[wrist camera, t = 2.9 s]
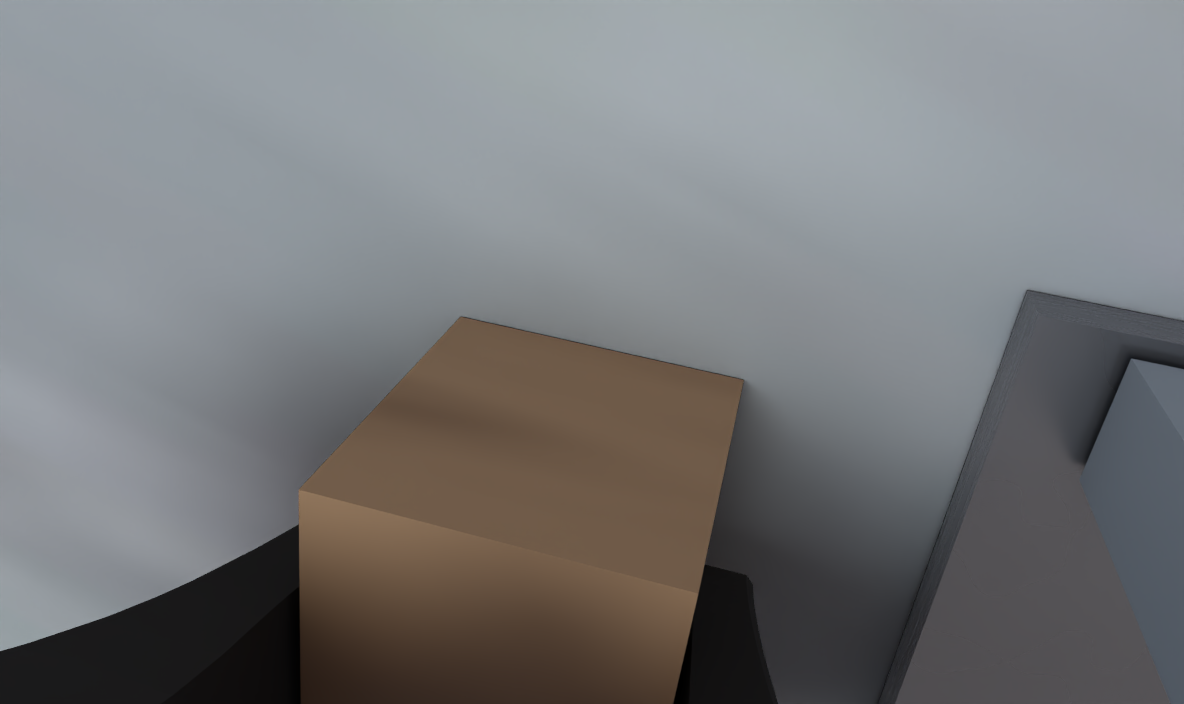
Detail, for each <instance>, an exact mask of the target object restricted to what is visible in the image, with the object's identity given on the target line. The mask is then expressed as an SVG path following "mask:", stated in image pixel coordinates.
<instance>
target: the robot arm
mask: <svg viewBox="0 0 1184 704" xmlns="http://www.w3.org/2000/svg"><path fill="white" fill-rule="evenodd" d="M0 704H301V682H300V578H299V525H297V526H295V527H293V528H292V529H290V530H288V531H286V532H285V533H283V534H281V535H279V536H278V537H276V538H274V539H272V540H270V541H269V542H267V543H265V544H263V545H262V546H260V547H258V548H256V549H254V550H252V551H250V552H248V553H246V554H244V555H242V556H240V557H238V558H237V559H235V560H233V561H231V562H229V563H227V564H225V565H223V566H221V567H219V568H217V569H215V570H213V571H211V572H209V573H207V574H205V575H203V576H201V577H199V578H197V579H195V580H193V581H191V582H189V583H187V584H184V585H182V586H180V587H178V588H176V589H173V590H171V591H169V592H167V593H164V594H162V595H160V596H157V597H155V598H153V599H150V600H148V601H145V602H143V603H140V604H138V605H135V606H133V607H130V608H128V609H126V610H123V611H121V612H118V613H115V614H113V615H110V616H108V617H105V618H102V619H99V620H96V621H93V622H90V623H87V624H84V625H81V626H78V627H75V628H72V629H69V630H66V631H63V632H61V633H58V634H55V635H52V636H49V637H46V638H43V639H40V640H37V641H34V642H31V643H27V644H24V645H21V646H17V647H14V648H10V649H7V650H3V651H0ZM673 704H778V702H777V699H776V696H775V692H774V689H773V685H772V682H771V679H770V675H769V672H768V669H767V665H766V661H765V657H764V653H763V649H762V644H761V640H760V635H759V631H758V625H757V620H756V614H755V607H754V598H753V584H752V583H751V581H750V580H749V578H748V577H747V575H743V574H739V573H735V572H731V571H728V570H724V569H720V568H716V567H712V566H708V565H704V570H703V574H702V579H701V584H700V588H699V593H698V597H697V602H696V606H695V610H694V615H693V619H692V624H691V628H690V632H689V637H688V641H687V645H686V650H685V654H684V658H683V663H682V667H681V672H680V676H679V680H678V685H677V689H676V693H675V698H674V702H673Z"/></svg>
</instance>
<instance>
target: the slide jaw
mask: <svg viewBox="0 0 1184 704" xmlns="http://www.w3.org/2000/svg"><path fill="white" fill-rule="evenodd" d="M1079 480H1080V483H1081V485H1082V488H1083V490H1084V493H1085V495H1086V497H1087V500H1088V502H1089V505H1090V507H1091V510H1092V512H1093V515H1094V517H1095V519H1096V522H1097V524H1098V527H1099V529H1100V532H1101V534H1102V537H1103V539H1104V541H1105V544H1106V546H1107V549H1108V551H1109V554H1110V556H1111V559H1112V561H1113V563H1114V566H1115V568H1116V571H1117V573H1118V576H1119V578H1120V581H1121V583H1122V585H1123V588H1124V590H1125V593H1126V595H1127V598H1128V600H1129V603H1130V605H1131V607H1132V610H1133V612H1134V615H1135V617H1136V620H1137V622H1138V625H1139V627H1140V630H1141V632H1142V634H1143V637H1144V639H1145V642H1146V644H1147V647H1148V649H1149V652H1150V654H1151V656H1152V659H1153V661H1154V664H1155V666H1156V669H1157V671H1158V674H1159V676H1160V678H1161V681H1162V683H1163V686H1164V688H1165V691H1166V693H1167V696H1168V698H1169V700H1170V703H1171V704H1184V369H1180V368H1175V367H1170V366H1165V365H1160V364H1156V363H1151V362H1146V361H1141V360H1136V359H1131V360H1130V363H1129V365H1128V367H1127V370H1126V372H1125V374H1124V377H1123V379H1122V381H1121V384H1120V386H1119V388H1118V391H1117V393H1116V395H1115V398H1114V400H1113V402H1112V405H1111V407H1110V409H1109V412H1108V414H1107V416H1106V419H1105V421H1104V423H1103V426H1102V428H1101V430H1100V433H1099V435H1098V437H1097V440H1096V442H1095V444H1094V447H1093V449H1092V451H1091V454H1090V456H1089V458H1088V461H1087V463H1086V465H1085V468H1084V470H1083V472H1082V475H1081V477H1080V479H1079Z"/></svg>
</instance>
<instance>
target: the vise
mask: <svg viewBox="0 0 1184 704" xmlns="http://www.w3.org/2000/svg"><path fill="white" fill-rule="evenodd" d="M1131 359H1136V360H1141V361H1146V362H1151V363H1156V364H1160V365H1165V366H1170V367H1175V368H1180V369H1184V322H1183V321H1178V320H1173V319H1168V318H1163V317H1158V316H1153V315H1148V314H1143V313H1138V312H1133V311H1128V310H1123V309H1118V308H1113V307H1108V306H1103V305H1098V304H1093V303H1088V302H1083V301H1078V300H1073V299H1068V298H1063V297H1058V296H1053V295H1048V294H1043V293H1038V292H1033V291H1028V290H1027V292H1026V295H1025V298H1024V301H1023V303H1022V306H1021V309H1020V312H1019V314H1018V317H1017V320H1016V323H1015V325H1014V328H1013V331H1012V334H1011V337H1010V339H1009V342H1008V345H1007V348H1006V350H1005V353H1004V356H1003V359H1002V362H1001V364H1000V367H999V370H998V373H997V375H996V378H995V381H994V384H993V386H992V389H991V392H990V395H989V398H988V400H987V403H986V406H985V409H984V411H983V414H982V417H981V420H980V422H979V425H978V428H977V431H976V434H975V436H974V439H973V442H972V445H971V447H970V450H969V453H968V456H967V459H966V461H965V464H964V467H963V470H962V472H961V475H960V478H959V481H958V483H957V486H956V489H955V492H954V495H953V497H952V500H951V503H950V506H949V508H948V511H947V514H946V517H945V519H944V522H943V525H942V528H941V531H940V533H939V536H938V539H937V542H936V544H935V547H934V550H933V553H932V555H931V558H930V561H929V564H928V567H927V569H926V572H925V575H924V578H923V580H922V583H921V586H920V589H919V592H918V594H917V597H916V600H915V603H914V605H913V608H912V611H911V614H910V616H909V619H908V622H907V625H906V628H905V630H904V633H903V636H902V639H901V641H900V644H899V647H898V650H897V652H896V655H895V658H894V661H893V664H892V666H891V669H890V672H889V675H888V677H887V680H886V683H885V686H884V689H883V691H882V694H881V697H880V700H879V702H878V704H1171V703H1170V700H1169V698H1168V696H1167V693H1166V691H1165V688H1164V686H1163V683H1162V681H1161V678H1160V676H1159V674H1158V671H1157V669H1156V666H1155V664H1154V661H1153V659H1152V656H1151V654H1150V652H1149V649H1148V647H1147V644H1146V642H1145V639H1144V637H1143V634H1142V632H1141V630H1140V627H1139V625H1138V622H1137V620H1136V617H1135V615H1134V612H1133V610H1132V607H1131V605H1130V603H1129V600H1128V598H1127V595H1126V593H1125V590H1124V588H1123V585H1122V583H1121V581H1120V578H1119V576H1118V573H1117V571H1116V568H1115V566H1114V563H1113V561H1112V559H1111V556H1110V554H1109V551H1108V549H1107V546H1106V544H1105V541H1104V539H1103V537H1102V534H1101V532H1100V529H1099V527H1098V524H1097V522H1096V519H1095V517H1094V515H1093V512H1092V510H1091V507H1090V505H1089V502H1088V500H1087V497H1086V495H1085V493H1084V490H1083V488H1082V485H1081V483H1080V480H1079V479H1080V477H1081V475H1082V472H1083V470H1084V468H1085V465H1086V463H1087V461H1088V458H1089V456H1090V454H1091V451H1092V449H1093V447H1094V444H1095V442H1096V440H1097V437H1098V435H1099V433H1100V430H1101V428H1102V426H1103V423H1104V421H1105V419H1106V416H1107V414H1108V412H1109V409H1110V407H1111V405H1112V402H1113V400H1114V398H1115V395H1116V393H1117V391H1118V388H1119V386H1120V384H1121V381H1122V379H1123V377H1124V374H1125V372H1126V370H1127V367H1128V365H1129V363H1130V360H1131Z"/></svg>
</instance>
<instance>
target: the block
mask: <svg viewBox="0 0 1184 704" xmlns="http://www.w3.org/2000/svg"><path fill="white" fill-rule="evenodd" d="M743 382H744V380H741V379H737V378H732V377H728V376H723V375H719V374H714V373H710V372H705V371H701V370H696V369H692V368H687V367H683V366H678V365H674V364H670V363H665V362H661V361H656V360H652V359H647V358H643V357H638V356H634V355H629V354H625V353H620V352H616V351H611V350H607V349H602V348H598V347H594V346H589V345H585V344H580V343H576V342H571V341H567V340H562V339H558V338H553V337H549V336H544V335H540V334H535V333H531V332H526V331H522V330H517V329H513V328H509V327H504V326H500V325H495V324H491V323H486V322H482V321H477V320H473V319H468V318H464V317H460V318H459V319H458V320H457V321H456V322H455V323H454V324H453V325H452V326H451V327H450V328H449V330H448V331H447V332H446V333H445V334H444V335H443V336H442V337H441V338H440V339H439V340H438V341H437V342H436V343H435V345H434V346H433V347H432V348H431V349H430V350H429V351H428V352H427V353H426V354H425V355H424V356H423V357H422V358H421V359H420V361H419V362H418V363H417V364H416V365H415V366H414V367H413V368H412V369H411V370H410V371H409V372H408V373H407V374H406V376H405V377H404V378H403V379H402V380H401V381H400V382H399V383H398V384H397V385H396V386H395V387H394V388H393V389H392V390H391V392H390V393H389V394H388V395H387V396H386V397H385V398H384V399H383V400H382V401H381V402H380V403H379V404H378V405H377V406H376V408H375V409H374V410H373V411H372V412H371V413H370V414H369V415H368V416H367V417H366V418H365V419H364V420H363V421H362V423H361V424H360V425H359V426H358V427H357V428H356V429H355V430H354V431H353V432H352V433H351V434H350V435H349V436H348V437H347V439H346V440H345V441H344V442H343V443H342V444H341V445H340V446H339V447H338V448H337V449H336V450H335V451H334V452H333V454H332V455H331V456H330V457H329V458H328V459H327V460H326V461H325V462H324V463H323V464H322V465H321V466H320V467H319V468H318V470H317V471H316V472H315V473H314V474H313V475H312V476H311V477H310V478H309V479H308V480H307V481H306V482H305V483H304V484H303V486H302V487H301V488H300V489H299V578H300V682H301V704H673V702H674V698H675V693H676V689H677V685H678V680H679V676H680V672H681V667H682V663H683V658H684V654H685V650H686V645H687V641H688V637H689V632H690V628H691V624H692V619H693V615H694V610H695V606H696V602H697V597H698V593H699V588H700V584H701V579H702V574H703V570H704V565H705V560H706V555H707V551H708V546H709V541H710V537H711V532H712V527H713V523H714V518H715V513H716V508H717V504H718V499H719V494H720V490H721V485H722V480H723V476H724V471H725V466H726V461H727V457H728V452H729V447H730V443H731V438H732V433H733V429H734V424H735V419H736V414H737V410H738V405H739V400H740V396H741V391H742V386H743Z"/></svg>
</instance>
